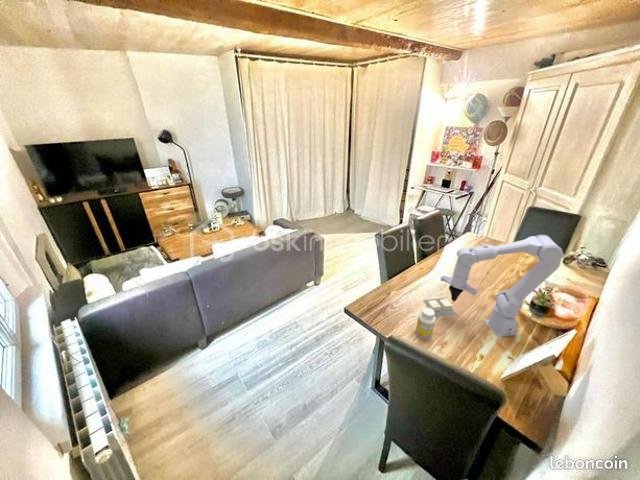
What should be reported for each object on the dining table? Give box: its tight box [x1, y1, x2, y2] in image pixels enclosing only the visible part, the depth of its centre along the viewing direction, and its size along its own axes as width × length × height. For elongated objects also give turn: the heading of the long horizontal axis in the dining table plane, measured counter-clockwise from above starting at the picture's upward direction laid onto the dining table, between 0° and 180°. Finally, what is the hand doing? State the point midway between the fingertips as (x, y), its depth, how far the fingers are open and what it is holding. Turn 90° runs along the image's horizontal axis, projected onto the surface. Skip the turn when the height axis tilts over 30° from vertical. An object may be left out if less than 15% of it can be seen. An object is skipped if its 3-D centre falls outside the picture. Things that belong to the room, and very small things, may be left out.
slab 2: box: [438, 298, 454, 310], centre depth 120 cm, size 2×4×5 cm
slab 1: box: [426, 299, 441, 311], centre depth 119 cm, size 2×4×5 cm
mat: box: [422, 297, 458, 318], centre depth 120 cm, size 12×11×1 cm
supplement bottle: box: [415, 307, 437, 340], centre depth 103 cm, size 7×7×13 cm
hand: (454, 299), depth 110 cm, fingers closed
